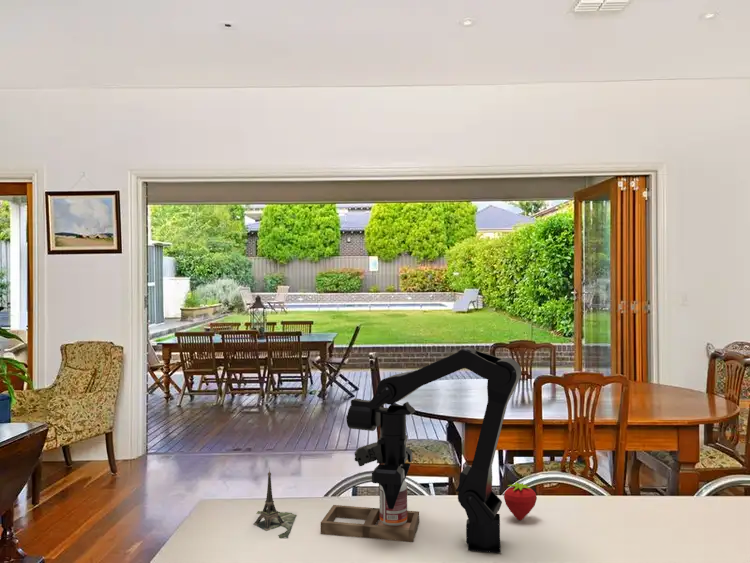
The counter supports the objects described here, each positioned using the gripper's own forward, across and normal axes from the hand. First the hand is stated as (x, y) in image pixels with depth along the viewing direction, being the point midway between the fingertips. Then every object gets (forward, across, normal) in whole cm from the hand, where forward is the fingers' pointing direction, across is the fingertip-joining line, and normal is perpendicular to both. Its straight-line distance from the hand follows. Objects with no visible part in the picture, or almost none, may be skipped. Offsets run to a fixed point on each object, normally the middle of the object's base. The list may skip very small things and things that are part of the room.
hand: (393, 503), depth 128 cm
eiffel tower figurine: (+7, +2, -28) cm, 29 cm away
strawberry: (+6, -11, +28) cm, 31 cm away
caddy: (+6, 0, -5) cm, 8 cm away
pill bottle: (+4, 0, 0) cm, 4 cm away
